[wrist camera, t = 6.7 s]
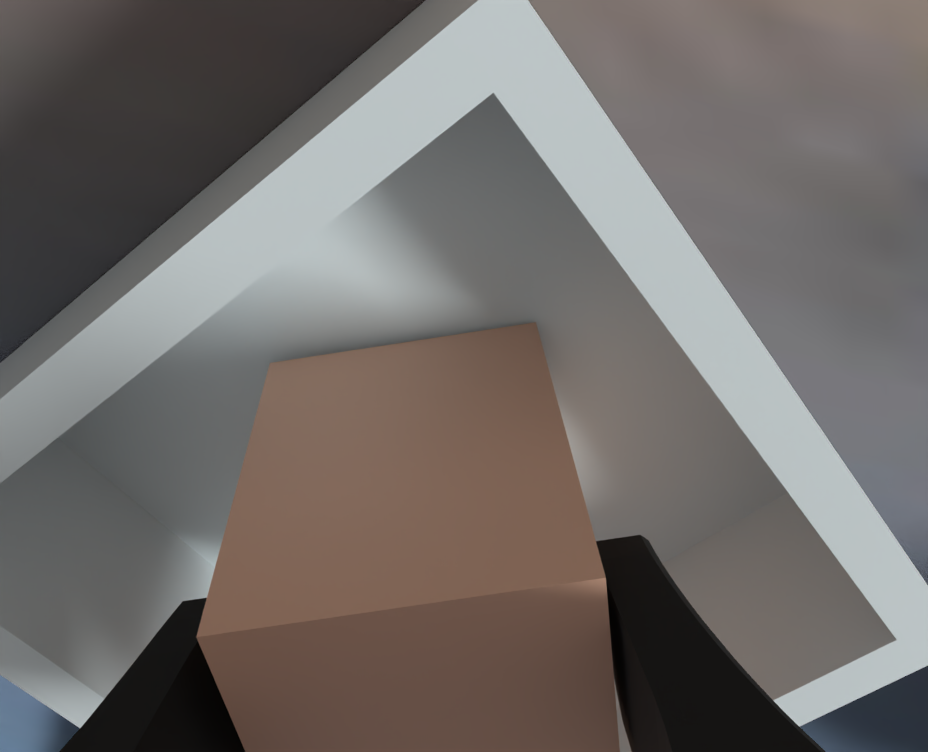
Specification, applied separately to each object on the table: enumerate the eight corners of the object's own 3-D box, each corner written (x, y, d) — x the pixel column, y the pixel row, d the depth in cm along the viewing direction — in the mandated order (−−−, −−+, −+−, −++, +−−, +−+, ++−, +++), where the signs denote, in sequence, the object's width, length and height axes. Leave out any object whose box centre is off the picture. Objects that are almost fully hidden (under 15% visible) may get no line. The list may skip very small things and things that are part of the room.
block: (559, 527, 17) (625, 822, 12) (328, 561, 17) (294, 868, 12) (535, 322, 15) (606, 577, 9) (270, 362, 15) (196, 637, 10)
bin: (390, 726, 20) (377, 927, 16) (-27, 386, 16) (-184, 551, 12) (848, 470, 17) (968, 645, 13) (489, -55, 12) (510, -27, 9)
